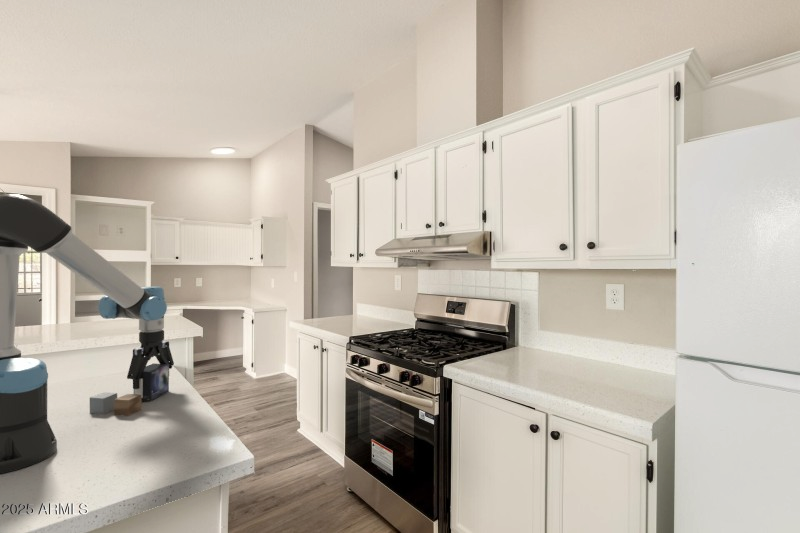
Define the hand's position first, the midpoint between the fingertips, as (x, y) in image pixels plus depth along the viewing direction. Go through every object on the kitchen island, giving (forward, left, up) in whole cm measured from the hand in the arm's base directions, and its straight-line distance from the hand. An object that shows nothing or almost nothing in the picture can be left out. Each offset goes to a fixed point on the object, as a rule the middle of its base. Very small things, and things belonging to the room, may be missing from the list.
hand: (152, 392), depth 138 cm
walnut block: (-14, -4, -2) cm, 15 cm away
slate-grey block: (-14, +5, -2) cm, 15 cm away
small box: (0, 0, -2) cm, 2 cm away
